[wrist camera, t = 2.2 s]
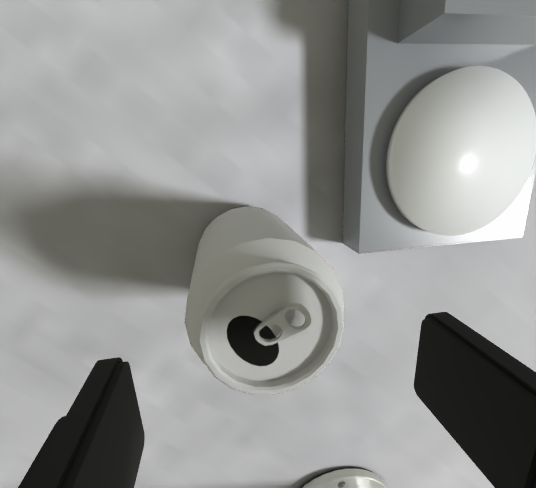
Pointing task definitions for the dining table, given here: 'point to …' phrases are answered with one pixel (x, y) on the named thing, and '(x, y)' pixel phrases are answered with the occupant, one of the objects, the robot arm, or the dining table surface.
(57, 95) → the dining table surface
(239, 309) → the can
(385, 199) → the scale
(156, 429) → the dining table surface
